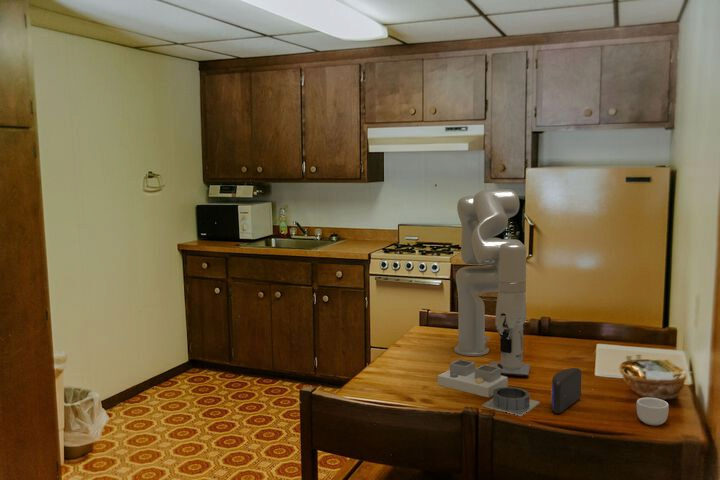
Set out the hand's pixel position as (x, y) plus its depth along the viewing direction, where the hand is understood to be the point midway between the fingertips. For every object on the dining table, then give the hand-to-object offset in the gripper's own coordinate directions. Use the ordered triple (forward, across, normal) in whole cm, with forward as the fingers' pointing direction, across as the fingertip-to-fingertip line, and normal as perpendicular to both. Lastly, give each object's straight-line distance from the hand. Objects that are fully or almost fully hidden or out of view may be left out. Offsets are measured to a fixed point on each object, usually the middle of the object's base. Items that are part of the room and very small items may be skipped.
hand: (511, 348), depth 180 cm
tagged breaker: (+13, -9, -13) cm, 20 cm away
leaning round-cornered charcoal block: (+17, -9, +13) cm, 23 cm away
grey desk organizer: (+16, -7, -17) cm, 25 cm away
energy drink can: (+6, 0, 0) cm, 6 cm away
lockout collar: (+17, 0, 0) cm, 17 cm away
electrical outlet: (+17, -25, -14) cm, 33 cm away
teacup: (+17, -13, +35) cm, 41 cm away
